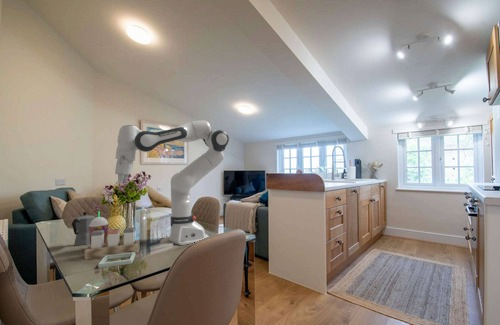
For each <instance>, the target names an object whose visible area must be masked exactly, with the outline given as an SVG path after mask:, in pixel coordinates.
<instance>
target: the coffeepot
mask: <svg viewBox="0 0 500 325" xmlns="http://www.w3.org/2000/svg"><path fill="white" fill-rule="evenodd" d="M82 214H83V215H80V216H77V217H75V218H74V219H73V220H72V222H71V226H72V229H73V234H74V235H75V239H74V243H73V244H74V245H73V247H82V246H90V236H89V225H90V223H91V221H92V220H93V219H94V218H96V217H95V215H89V214H88V215H87V211H83V213H82Z"/></svg>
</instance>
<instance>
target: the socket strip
mask: <svg viewBox="0 0 500 325" xmlns="http://www.w3.org/2000/svg"><path fill="white" fill-rule="evenodd" d="M139 250H140V240H135V244H133V245H124V241H122V242H121V241H120V245H119V246H115V247H108V243H107V244H104V247H103V248H96V249H91V245H88V247H87V248H86V249H84V261H85V260H92V259H93V260H95V259H103V258H104V256H105V255H114V254H122V253H131V252H135V255H136V254H138V253H139Z"/></svg>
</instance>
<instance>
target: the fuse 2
mask: <svg viewBox="0 0 500 325" xmlns="http://www.w3.org/2000/svg"><path fill="white" fill-rule="evenodd" d="M135 230H136V227H135V226H133V227H125V228H124V229H123V242H124V245H133V244H135V241H136V240H135V238H136V237H135Z"/></svg>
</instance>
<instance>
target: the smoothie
mask: <svg viewBox="0 0 500 325" xmlns="http://www.w3.org/2000/svg"><path fill="white" fill-rule="evenodd" d="M100 214H101V212H100V210H99V211H98V213H97V215H98V216H96V217H95V218H94V219H93V220H92V221H91V223H90V225H89V236H90V245H91V233H92V232H93V231H97V230H104V244H108V231H109V221H108V220H107V219H106V217H102V216H100ZM90 245H89V246H90Z"/></svg>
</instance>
